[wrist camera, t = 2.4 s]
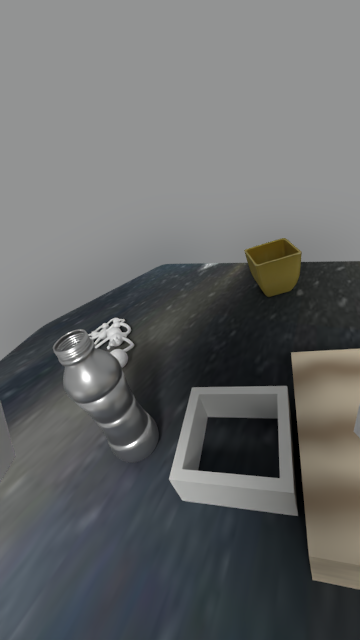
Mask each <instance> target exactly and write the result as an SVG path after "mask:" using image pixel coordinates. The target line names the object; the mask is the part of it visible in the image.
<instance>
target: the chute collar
mask: <svg viewBox="0 0 360 640" xmlns="http://www.w3.org/2000/svg"><path fill="white" fill-rule="evenodd" d="M208 417H235V418H278V436H279V469H280V478H271V477H261V476H250V475H239V474H228V473H218V472H207V471H198V469H199V463H200V457H201V452H202V446H203V441H204V435H205V430H206V424H207V419H208ZM169 480H170V482H171V483H172V485H173V487H174V488H175V490H176V491H177V493H178V494H179V496H180V497H181V499H182V500H183V501H189V502H197V503H204V504H211V505H219V506H226V507H234V508H241V509H248V510H256V511H263V512H271V513H278V514H286V515H293V516H298V507H297V492H296V478H295V464H294V450H293V436H292V422H291V409H290V402H289V395H288V388H287V386H248V387H192V390H191V394H190V398H189V402H188V406H187V410H186V414H185V418H184V422H183V426H182V430H181V434H180V438H179V442H178V445H177V449H176V453H175V457H174V461H173V465H172V469H171V473H170V477H169Z"/></svg>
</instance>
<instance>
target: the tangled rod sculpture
mask: <svg viewBox="0 0 360 640" xmlns="http://www.w3.org/2000/svg"><path fill="white" fill-rule="evenodd" d="M112 321H113V324H112V325H111V326H110V327H109V325H108V324H109V323H110V322H112ZM120 321H121V322H120ZM124 321H125V320H124V319H119V318H113V319H111V320H110V321H109V322H108V323H103V324H102V326H100V327H99V328H97V329H96V330H95V331H93V332H92V333H91V334H88V335H89V336H92V337H90V339H92V340H93V339H96V338H98V337H99V338H98V339H97V340H96V341H95V342H94V344H95V345H96V344H97V343H98V342H99V340H100V339H104V340H103V341H102V342H100V343H99V344H97V345H96V346H95V348H98V347H99V346H101V345H102V344H103V343H105V342H106V341H107V340H110V342H109V346H107V349H110V346H119V345H121V344H122V342H123V341H126V342H128V343H129V344H130V346H129V347H127V348H125V349H123V350H121V349H115V350H113V351H112V352H110V354H112V355H113V356H114V357H116V358H117V359H118V361H119V363H120V365H121V367H122V368H123V367H124V366H125V365H126V364H127V361H128V356H127V353H126V352H127V351H129V350H130V349H132V348H133V347H134V343H133V342H132V341H131V340H129V339H128V338H126V337H127V335H128V334H129V333H130V332H131V328H130V326H129V325H127V324H125V323H123V322H124ZM120 326H124V327H126V328H127V329H128V331H127V332H122V331H121V330H120V329H119V328H120ZM100 328H103V329H102V330H101V331H100V332H97V331H98V330H99V329H100Z"/></svg>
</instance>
